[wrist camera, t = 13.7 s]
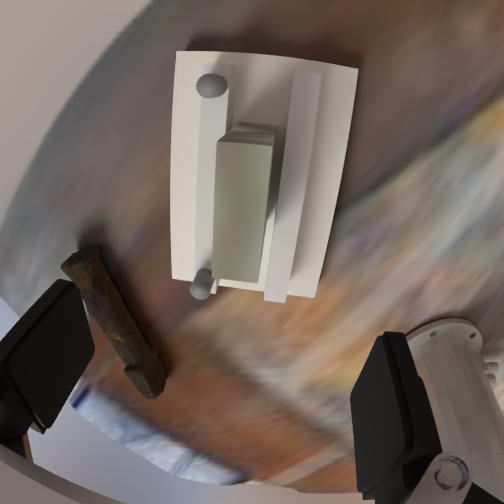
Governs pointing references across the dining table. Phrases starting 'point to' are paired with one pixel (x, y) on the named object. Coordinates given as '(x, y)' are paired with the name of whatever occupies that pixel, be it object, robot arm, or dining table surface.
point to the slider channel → (284, 162)
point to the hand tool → (115, 320)
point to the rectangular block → (241, 200)
